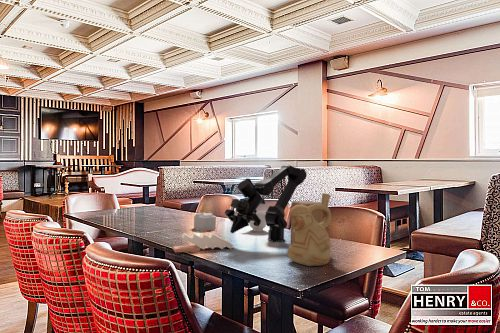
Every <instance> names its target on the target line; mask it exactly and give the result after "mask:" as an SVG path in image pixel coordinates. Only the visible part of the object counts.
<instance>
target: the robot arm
mask: <svg viewBox="0 0 500 333" xmlns="http://www.w3.org/2000/svg"><path fill="white" fill-rule="evenodd" d="M307 176H308V174H307V170H306V169H305V168H298V167H294V166H292V165H285V164H284V165H282V166H281V167H280V168H279V169H278V170H276V171H275V172H274V173H272V174H271V175H270V176H269V177H268V178H266V179H263V180H262V179H261V180H260V181H257V182H255V184H253V182H252V180H251V178H245V180H242V181H240V182H239V183H238V184H237V189H238V191H239V192H240V193H241V194H242V196H243V197H244V198H245V199H241V200H240V199H236V198H233V199H232V200H231V203H230V207H231V208H233V209H231V208H227V209H225V212H224V215H225V216H226V217H227V218H228V219H229V220H230V221H231V222H232V225H231V228H230V233H231V234H235V233H236V232H238V231H240V230H242V229H243V228H244V229H245V227H249V226H250V225H249V222H251V221H254V223H253V224H254V226H259V225H260V223H261V220H260V218H259V217H258V216H257V214H256V212H257V211H258V210H257V209H258V207H259V206H260V205H265V204H266V201H265V200H266V199H265V198H264V197H265V196H267V197H268V196H270V194H271V193H272V192H273V191H274V188H275V186H277V185H278V184H279V183H280V182H282V180H284V179H285V178H286V177H287V183H286V185H285V186H284V188H283V190H282V192H281V194H280V195H279V198H278V200H277V201H276V203H275V205H273V206H272V205H269V206H268V208H267V210H266V212H265V213H266V215H265V220H266V227H268V228H269V229H268V230H267V231H268V234H267V236H268V237H267V240H269V241H271V242H286V239H285V229H286V228H287V227H288V222H287V220H286V219H285V214H286V213H285V209H286V208H287V206H288V204H289V203H290V200H291V198H292V197H293V194H294V193H295V191H296V189H297V188H298V186H300V185H302V184H303V183H304V181H305V179H306V178H307ZM262 196H264V197H262ZM234 209H235V210H234Z"/></svg>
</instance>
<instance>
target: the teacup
mask: <svg viewBox="0 0 500 333" xmlns="http://www.w3.org/2000/svg"><path fill="white" fill-rule="evenodd" d="M256 211H257V212H256V214H257V216H258V217H259V218H260V220H261V223H260V225H259V226H254V224H253V223H254V221H251V222H249V226H250V228H252V231H253V232H263V231H264V229H265V228H266V227H267V224H266V220H265V215H266V213H265V212H266V211H267V210H266V211H265V210H256Z"/></svg>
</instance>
